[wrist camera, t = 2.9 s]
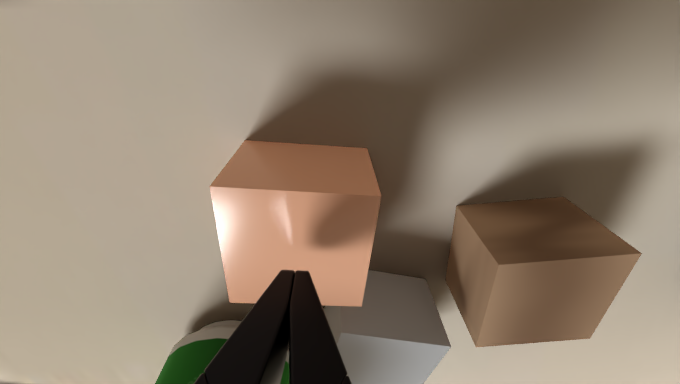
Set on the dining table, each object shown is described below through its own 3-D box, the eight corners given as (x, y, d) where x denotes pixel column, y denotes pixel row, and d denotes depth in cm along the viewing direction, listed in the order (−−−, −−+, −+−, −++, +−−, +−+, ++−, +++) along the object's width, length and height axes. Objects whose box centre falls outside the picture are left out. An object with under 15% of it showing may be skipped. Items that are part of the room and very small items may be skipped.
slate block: (425, 277, 16) (451, 346, 12) (395, 330, 18) (410, 401, 15) (338, 263, 15) (341, 332, 12) (319, 320, 18) (316, 392, 14)
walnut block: (561, 195, 13) (641, 253, 10) (533, 270, 16) (589, 338, 12) (455, 203, 13) (498, 265, 10) (444, 278, 16) (475, 347, 13)
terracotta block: (366, 147, 12) (381, 196, 8) (354, 239, 14) (361, 306, 11) (246, 139, 12) (209, 186, 8) (254, 234, 14) (229, 302, 11)
